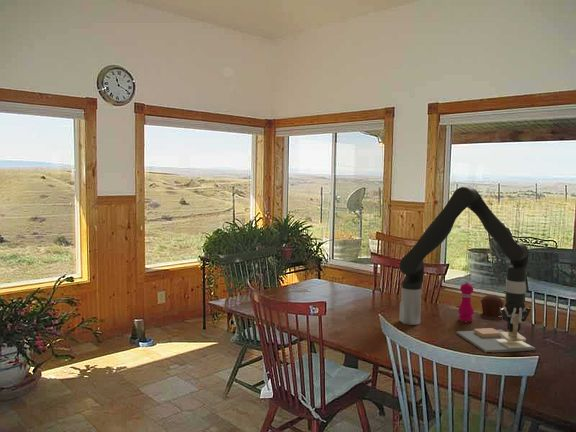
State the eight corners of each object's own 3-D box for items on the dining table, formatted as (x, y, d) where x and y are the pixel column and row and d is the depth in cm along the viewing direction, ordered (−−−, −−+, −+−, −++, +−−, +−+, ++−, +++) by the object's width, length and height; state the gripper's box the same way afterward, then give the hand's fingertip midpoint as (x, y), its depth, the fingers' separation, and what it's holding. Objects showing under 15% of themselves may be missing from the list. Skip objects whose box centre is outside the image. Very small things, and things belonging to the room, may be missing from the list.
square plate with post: (508, 341, 197) (511, 317, 195) (498, 334, 204) (501, 310, 202) (526, 340, 199) (529, 316, 196) (515, 333, 205) (518, 309, 203)
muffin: (484, 310, 256) (484, 291, 255) (506, 313, 249) (506, 295, 248) (477, 314, 247) (477, 295, 246) (499, 318, 240) (500, 299, 239)
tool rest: (509, 348, 195) (509, 347, 195) (495, 340, 205) (495, 339, 205) (531, 347, 197) (531, 346, 197) (516, 339, 206) (516, 338, 206)
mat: (486, 352, 193) (486, 350, 192) (456, 333, 216) (456, 331, 216) (535, 350, 196) (535, 347, 196) (501, 331, 219) (501, 329, 219)
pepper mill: (459, 317, 242) (460, 278, 241) (474, 319, 238) (476, 280, 237) (456, 320, 236) (458, 281, 234) (471, 323, 232) (473, 282, 231)
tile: (501, 336, 209) (482, 337, 208) (492, 331, 216) (473, 332, 215) (501, 333, 209) (482, 333, 208) (492, 328, 216) (473, 328, 215)
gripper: (505, 293, 194) (503, 334, 196) (536, 292, 196) (534, 333, 198) (495, 289, 202) (493, 329, 203) (524, 288, 204) (523, 327, 205)
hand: (513, 331), depth 200 cm, fingers closed on square plate with post, 2 cm apart
